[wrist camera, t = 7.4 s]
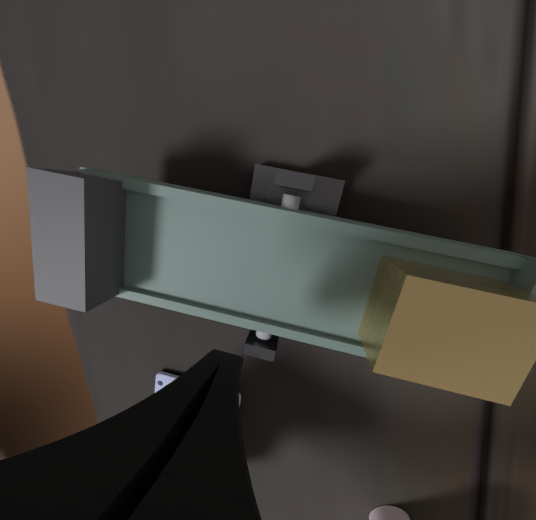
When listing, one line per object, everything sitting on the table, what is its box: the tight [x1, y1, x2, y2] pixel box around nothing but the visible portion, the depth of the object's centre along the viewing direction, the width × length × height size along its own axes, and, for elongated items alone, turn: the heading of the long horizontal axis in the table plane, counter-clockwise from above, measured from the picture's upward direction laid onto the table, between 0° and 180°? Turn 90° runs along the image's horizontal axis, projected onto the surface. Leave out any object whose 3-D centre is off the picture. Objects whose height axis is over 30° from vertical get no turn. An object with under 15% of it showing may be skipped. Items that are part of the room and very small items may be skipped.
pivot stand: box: [243, 164, 345, 362], centre depth 17 cm, size 12×6×5 cm, turn 169°
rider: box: [358, 255, 536, 406], centre depth 13 cm, size 5×6×4 cm
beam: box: [26, 167, 536, 358], centre depth 14 cm, size 9×25×4 cm, turn 79°
